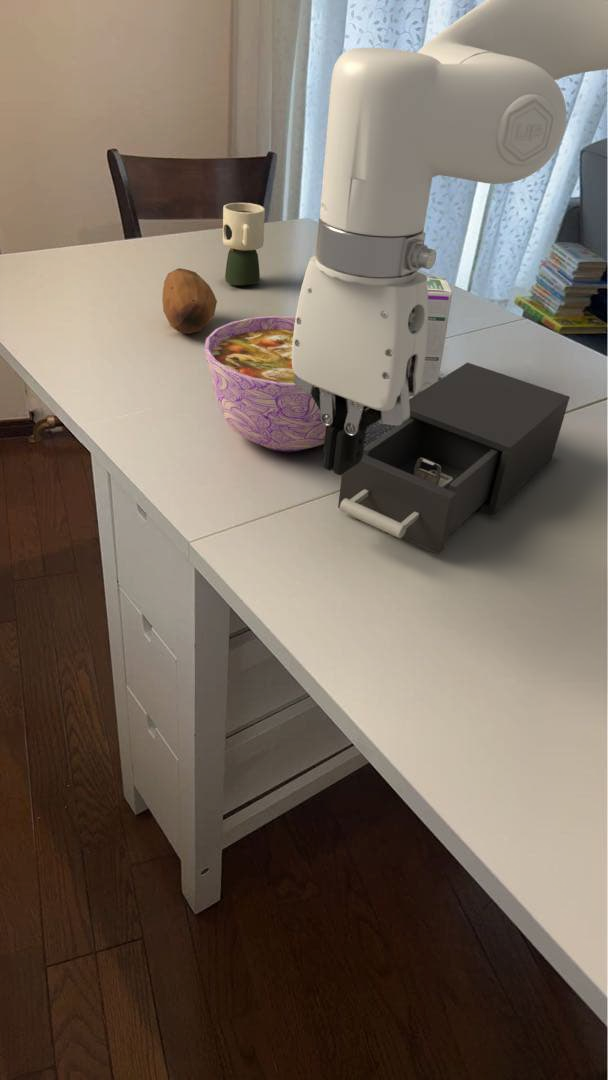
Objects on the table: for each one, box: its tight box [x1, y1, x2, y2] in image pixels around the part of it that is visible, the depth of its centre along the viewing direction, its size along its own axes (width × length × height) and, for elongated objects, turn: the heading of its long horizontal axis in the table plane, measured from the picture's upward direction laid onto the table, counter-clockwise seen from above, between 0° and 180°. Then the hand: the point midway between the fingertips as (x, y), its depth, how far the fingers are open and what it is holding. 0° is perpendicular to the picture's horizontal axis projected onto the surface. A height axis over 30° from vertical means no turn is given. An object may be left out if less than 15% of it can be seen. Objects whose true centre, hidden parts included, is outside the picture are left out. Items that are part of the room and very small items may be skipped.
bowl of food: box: [204, 315, 326, 453], centre depth 96 cm, size 20×20×12 cm
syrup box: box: [418, 275, 453, 393], centre depth 110 cm, size 6×6×14 cm
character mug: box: [222, 202, 266, 287], centre depth 140 cm, size 11×7×13 cm, turn 9°
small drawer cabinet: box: [409, 362, 571, 516], centre depth 94 cm, size 17×14×9 cm
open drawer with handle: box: [337, 417, 502, 555], centre depth 85 cm, size 20×12×7 cm, turn 143°
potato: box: [162, 268, 218, 335], centre depth 123 cm, size 8×13×8 cm
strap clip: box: [413, 458, 453, 489], centre depth 86 cm, size 8×3×4 cm, turn 142°
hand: (341, 465), depth 69 cm, fingers closed
